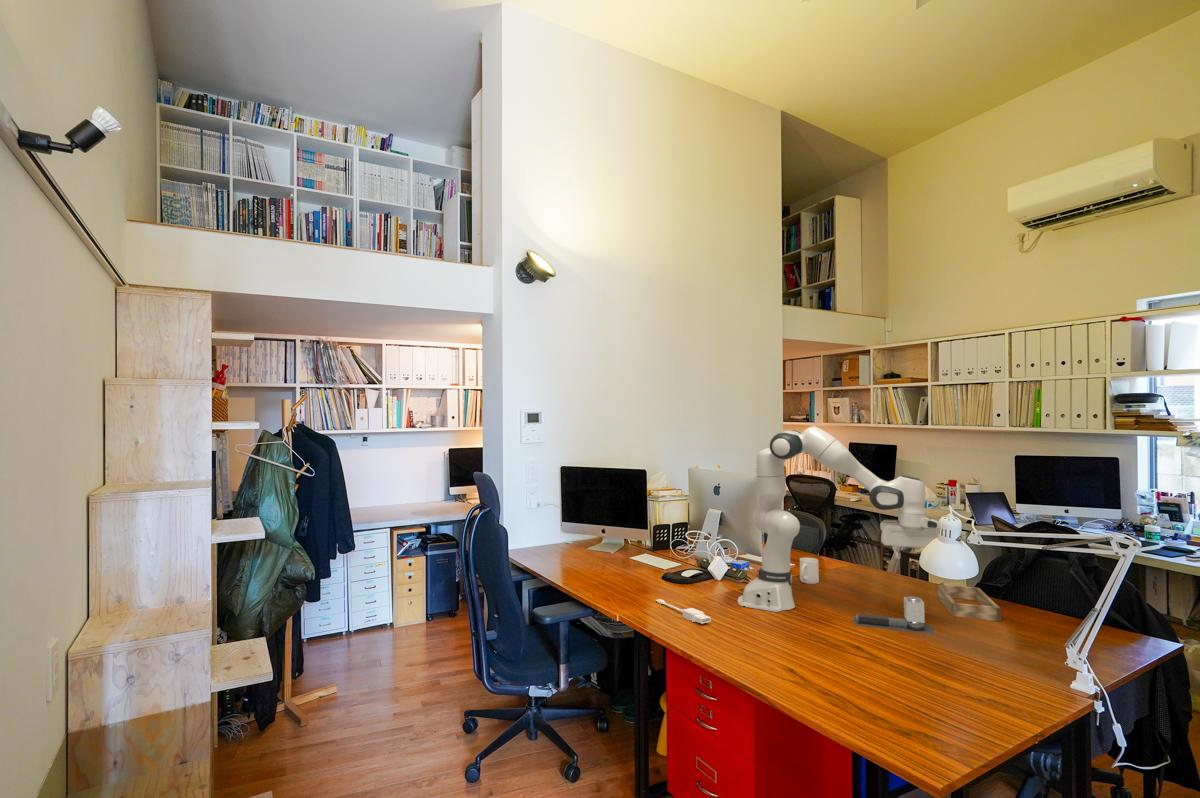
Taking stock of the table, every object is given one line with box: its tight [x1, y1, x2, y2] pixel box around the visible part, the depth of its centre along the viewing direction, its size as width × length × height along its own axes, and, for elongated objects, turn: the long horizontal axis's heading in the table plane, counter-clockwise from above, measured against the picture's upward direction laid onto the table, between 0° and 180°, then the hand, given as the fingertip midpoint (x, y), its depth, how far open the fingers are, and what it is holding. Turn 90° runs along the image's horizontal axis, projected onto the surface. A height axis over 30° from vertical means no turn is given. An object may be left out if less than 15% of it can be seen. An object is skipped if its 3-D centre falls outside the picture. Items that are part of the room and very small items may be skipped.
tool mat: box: [852, 617, 937, 635], centre depth 207 cm, size 26×9×1 cm, turn 70°
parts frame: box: [936, 583, 1002, 623], centre depth 228 cm, size 15×28×5 cm, turn 160°
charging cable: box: [655, 598, 712, 624], centre depth 222 cm, size 5×32×3 cm, turn 28°
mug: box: [799, 557, 820, 585], centre depth 265 cm, size 12×8×10 cm
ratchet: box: [855, 613, 925, 631], centre depth 207 cm, size 22×6×8 cm, turn 70°
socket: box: [903, 595, 926, 624], centre depth 204 cm, size 6×6×8 cm
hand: (912, 559), depth 205 cm, fingers open, 8 cm apart
